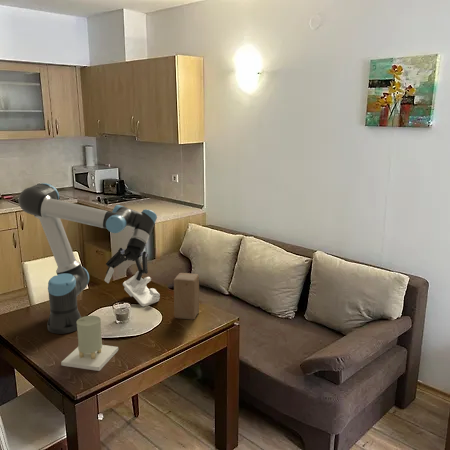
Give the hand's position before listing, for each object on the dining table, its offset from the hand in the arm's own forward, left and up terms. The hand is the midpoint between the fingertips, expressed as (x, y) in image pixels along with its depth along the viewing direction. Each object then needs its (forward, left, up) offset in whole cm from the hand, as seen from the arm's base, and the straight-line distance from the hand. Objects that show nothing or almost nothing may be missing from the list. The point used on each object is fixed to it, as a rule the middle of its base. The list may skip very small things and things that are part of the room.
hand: (119, 284), depth 196 cm
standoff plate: (-4, -20, -24) cm, 31 cm away
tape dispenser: (-7, +38, -24) cm, 46 cm away
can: (-4, -20, -20) cm, 28 cm away
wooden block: (+21, +27, -24) cm, 42 cm away
